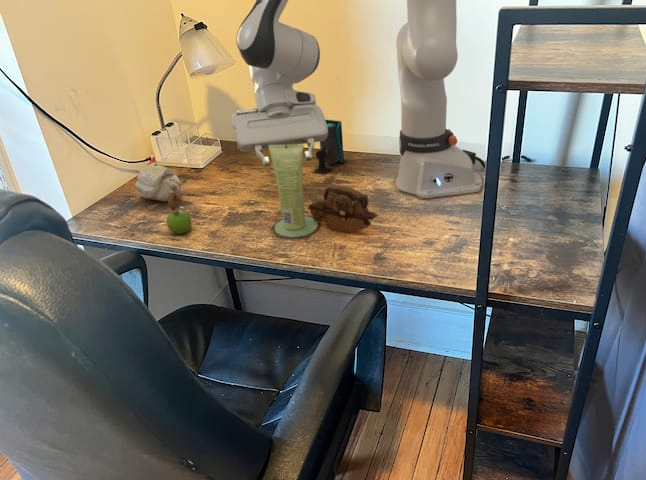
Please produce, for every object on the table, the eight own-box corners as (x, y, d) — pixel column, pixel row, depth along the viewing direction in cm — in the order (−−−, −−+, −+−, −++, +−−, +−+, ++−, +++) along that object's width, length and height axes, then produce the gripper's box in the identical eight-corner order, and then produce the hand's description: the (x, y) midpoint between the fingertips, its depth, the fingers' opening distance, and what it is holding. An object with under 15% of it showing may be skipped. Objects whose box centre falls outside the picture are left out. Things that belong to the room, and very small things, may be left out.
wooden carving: (306, 228, 123) (302, 188, 117) (314, 219, 126) (311, 180, 121) (374, 240, 118) (374, 199, 112) (380, 230, 122) (380, 190, 116)
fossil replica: (177, 206, 137) (189, 192, 146) (173, 175, 133) (185, 163, 142) (130, 204, 137) (145, 191, 146) (125, 173, 133) (140, 161, 142)
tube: (299, 217, 128) (290, 138, 117) (312, 225, 124) (303, 143, 114) (279, 225, 125) (267, 145, 114) (291, 233, 121) (280, 150, 111)
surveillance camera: (306, 130, 145) (324, 119, 153) (310, 171, 152) (328, 159, 159) (324, 132, 143) (342, 121, 150) (328, 174, 150) (344, 161, 157)
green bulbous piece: (195, 223, 128) (183, 176, 122) (192, 236, 123) (180, 188, 117) (172, 226, 128) (159, 179, 121) (168, 239, 123) (154, 191, 116)
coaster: (319, 216, 128) (319, 215, 128) (315, 237, 120) (315, 235, 120) (278, 218, 129) (277, 216, 129) (271, 238, 120) (271, 237, 120)
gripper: (228, 104, 115) (239, 163, 113) (321, 93, 119) (334, 150, 116) (231, 119, 122) (241, 175, 119) (319, 108, 125) (331, 162, 123)
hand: (288, 162), depth 118 cm, fingers open, 8 cm apart
